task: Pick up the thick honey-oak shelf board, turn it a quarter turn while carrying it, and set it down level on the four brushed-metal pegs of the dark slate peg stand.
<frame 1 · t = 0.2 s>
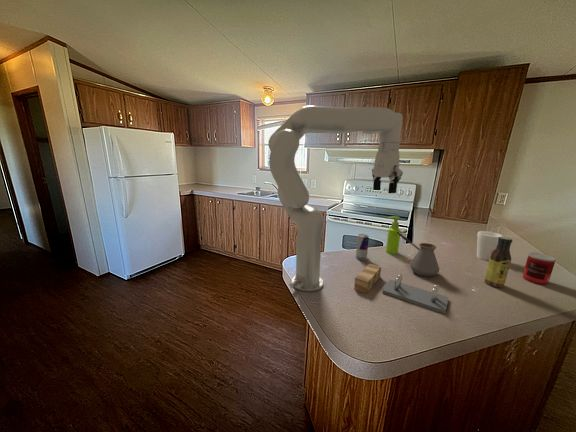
hand: (383, 191, 95), 36 cm above the countertop, tool pointing down, fingers open, 9 cm apart
foam cup: (484, 258, 120), on the countertop
soap dispenser: (390, 252, 126), on the countertop
peg stand: (414, 296, 86), on the countertop
sauce bottle: (493, 284, 95), on the countertop
canned food: (534, 280, 98), on the countertop
energy drink: (361, 258, 119), on the countertop
coffee pot: (412, 268, 108), on the countertop
shelf board: (367, 283, 95), on the countertop
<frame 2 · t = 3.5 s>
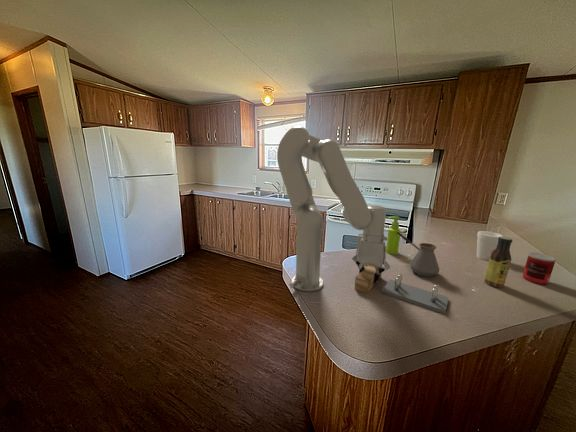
hand: (368, 279, 95), 2 cm above the countertop, tool pointing down, fingers closed on shelf board, 5 cm apart
shelf board: (368, 282, 95), on the countertop, touching gripper
everything else where it was.
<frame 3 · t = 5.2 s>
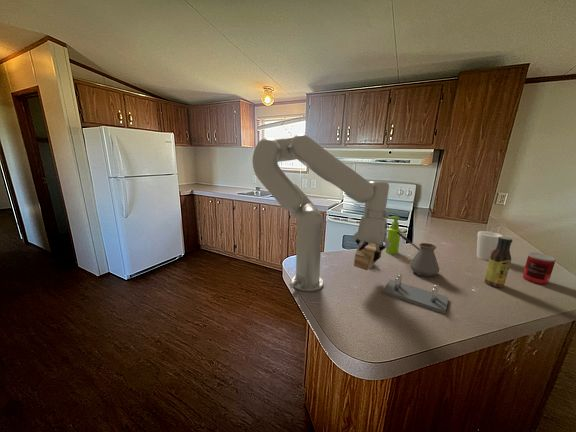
hand: (368, 257, 93), 11 cm above the countertop, tool pointing down, fingers closed on shelf board, 5 cm apart
shelf board: (367, 261, 93), point 9 cm above the countertop, touching gripper
everything else where it was.
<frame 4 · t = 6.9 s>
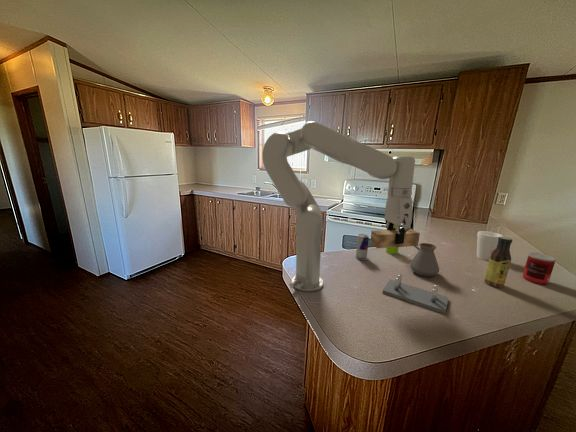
hand: (394, 240, 86), 20 cm above the countertop, tool pointing down, fingers closed on shelf board, 5 cm apart
shelf board: (393, 244, 87), point 18 cm above the countertop, touching gripper
everything else where it was.
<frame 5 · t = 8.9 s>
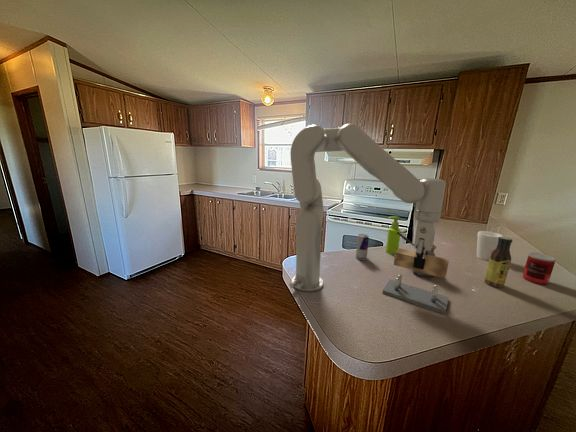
hand: (419, 264, 83), 13 cm above the countertop, tool pointing down, fingers closed on shelf board, 5 cm apart
shelf board: (419, 268, 83), point 11 cm above the countertop, touching gripper
everything else where it was.
when the fingers open (9 cm above the countertop, at t = 10.4 s): shelf board drops 1 cm, resting on peg stand.
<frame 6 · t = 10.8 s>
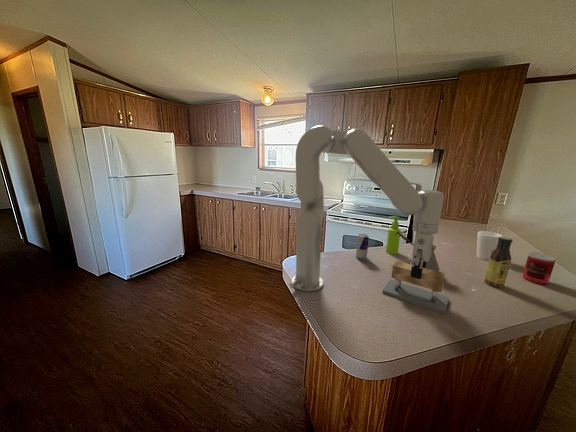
hand: (418, 272, 84), 10 cm above the countertop, tool pointing down, fingers open, 9 cm apart
shelf board: (416, 281, 85), point 6 cm above the countertop, touching peg stand
everything else where it was.
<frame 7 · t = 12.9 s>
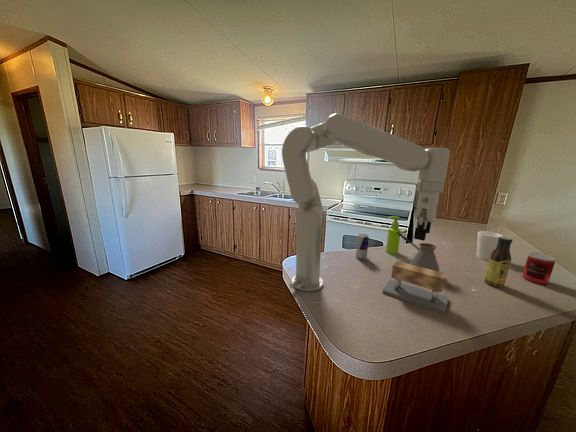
hand: (421, 235, 81), 23 cm above the countertop, tool pointing down, fingers open, 9 cm apart
nothing on the countertop moved.
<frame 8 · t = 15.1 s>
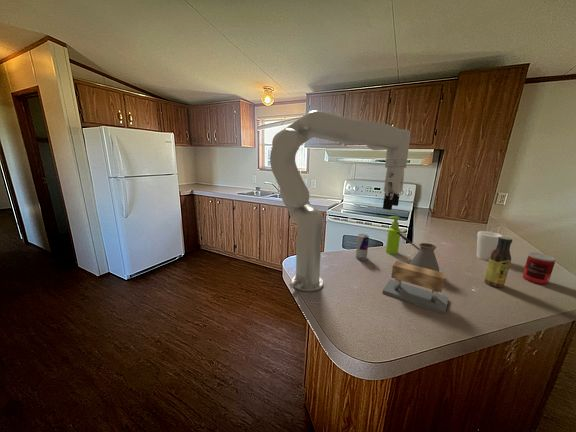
hand: (390, 207, 94), 30 cm above the countertop, tool pointing down, fingers open, 9 cm apart
nothing on the countertop moved.
at the end: shelf board 0.1 cm off-centre on the peg stand, point 6.0 cm above the peg stand's base; shelf board tilted 0°; the gripper is holding nothing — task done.
